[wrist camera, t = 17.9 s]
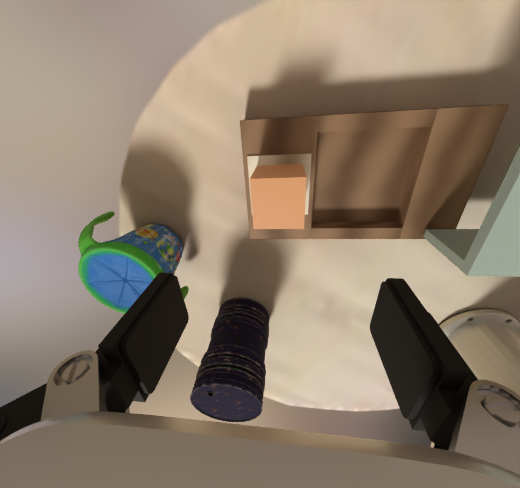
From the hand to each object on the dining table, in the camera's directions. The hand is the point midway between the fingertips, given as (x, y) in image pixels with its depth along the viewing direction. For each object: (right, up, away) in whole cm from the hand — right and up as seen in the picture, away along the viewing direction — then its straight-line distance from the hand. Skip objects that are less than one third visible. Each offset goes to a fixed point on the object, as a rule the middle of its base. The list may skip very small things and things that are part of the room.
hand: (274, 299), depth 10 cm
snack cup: (-16, +3, +25) cm, 30 cm away
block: (+2, +9, +16) cm, 18 cm away
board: (+10, +11, +17) cm, 23 cm away
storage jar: (-4, -11, +32) cm, 34 cm away
